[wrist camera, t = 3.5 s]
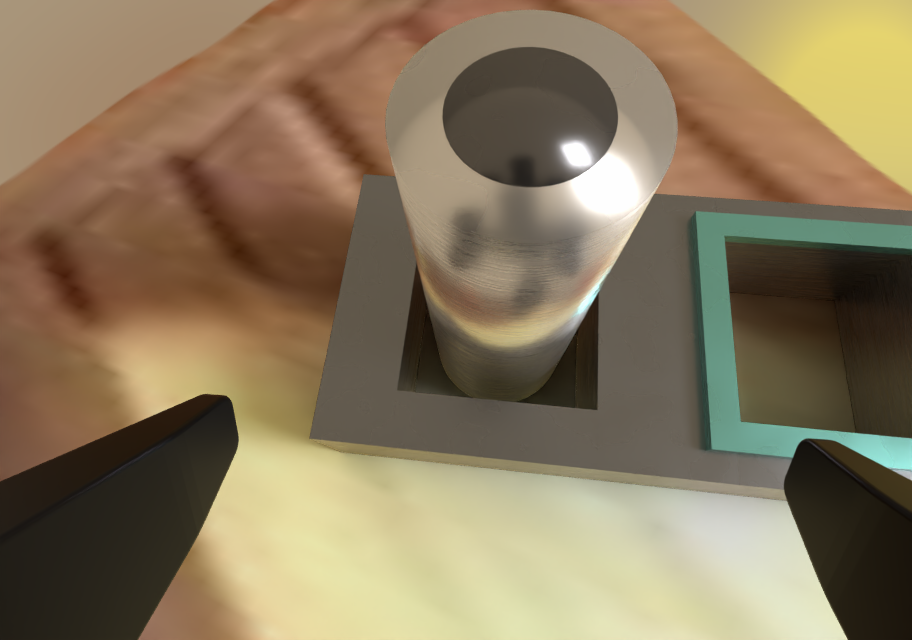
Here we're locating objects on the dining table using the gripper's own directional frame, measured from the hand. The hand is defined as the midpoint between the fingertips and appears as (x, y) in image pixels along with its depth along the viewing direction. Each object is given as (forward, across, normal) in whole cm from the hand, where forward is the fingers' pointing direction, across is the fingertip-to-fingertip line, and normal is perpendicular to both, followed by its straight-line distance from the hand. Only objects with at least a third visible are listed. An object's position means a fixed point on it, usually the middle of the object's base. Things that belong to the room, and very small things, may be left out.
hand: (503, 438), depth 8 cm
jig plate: (+12, -5, +5) cm, 14 cm away
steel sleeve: (+12, 0, +4) cm, 13 cm away
